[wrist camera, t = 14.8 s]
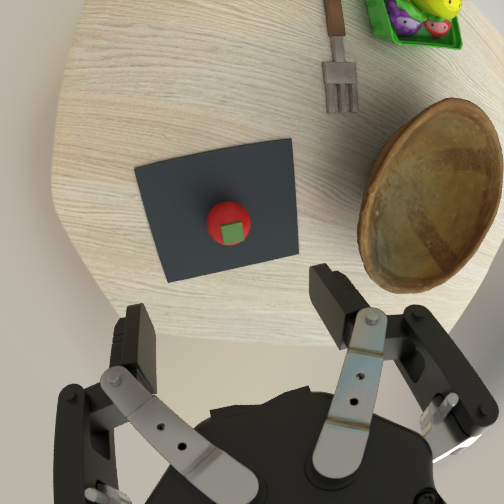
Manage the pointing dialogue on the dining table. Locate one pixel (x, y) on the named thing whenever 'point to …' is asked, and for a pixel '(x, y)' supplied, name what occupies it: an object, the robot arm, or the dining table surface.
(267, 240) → the placemat
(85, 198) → the dining table surface
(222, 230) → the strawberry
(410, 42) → the fruit basket
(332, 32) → the fork
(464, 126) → the bowl
